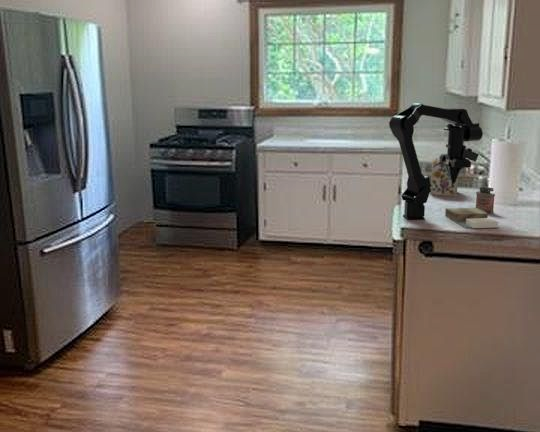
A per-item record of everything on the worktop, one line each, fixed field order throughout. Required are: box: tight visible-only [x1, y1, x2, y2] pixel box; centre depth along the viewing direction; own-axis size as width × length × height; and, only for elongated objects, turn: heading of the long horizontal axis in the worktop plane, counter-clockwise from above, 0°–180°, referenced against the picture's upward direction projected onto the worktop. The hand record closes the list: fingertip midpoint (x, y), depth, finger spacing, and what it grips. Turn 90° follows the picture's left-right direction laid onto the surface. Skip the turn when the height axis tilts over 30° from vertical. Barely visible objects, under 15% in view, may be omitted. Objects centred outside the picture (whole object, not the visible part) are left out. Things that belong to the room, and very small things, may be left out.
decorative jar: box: [429, 157, 459, 197], centre depth 265 cm, size 12×12×18 cm
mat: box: [454, 221, 499, 229], centre depth 209 cm, size 12×9×1 cm
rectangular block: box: [466, 217, 499, 229], centre depth 206 cm, size 9×6×2 cm, turn 96°
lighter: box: [475, 185, 496, 215], centre depth 229 cm, size 8×3×10 cm, turn 31°
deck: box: [444, 207, 489, 223], centre depth 218 cm, size 12×10×3 cm
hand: (453, 183), depth 224 cm, fingers closed
